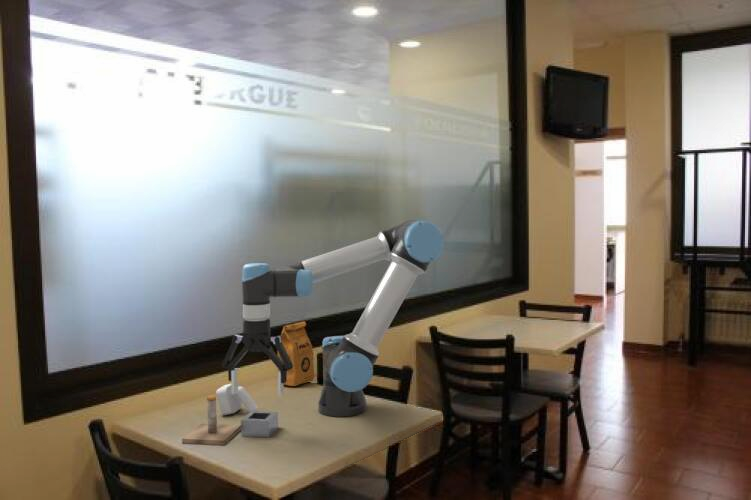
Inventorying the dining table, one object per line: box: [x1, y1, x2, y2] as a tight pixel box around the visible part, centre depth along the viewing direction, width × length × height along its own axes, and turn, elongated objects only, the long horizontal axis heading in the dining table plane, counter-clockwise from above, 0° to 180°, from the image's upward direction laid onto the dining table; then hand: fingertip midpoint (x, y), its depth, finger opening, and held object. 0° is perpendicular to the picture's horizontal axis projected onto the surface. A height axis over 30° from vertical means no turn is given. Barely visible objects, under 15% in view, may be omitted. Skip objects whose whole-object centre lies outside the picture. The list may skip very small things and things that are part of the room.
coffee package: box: [277, 321, 315, 387], centre depth 224 cm, size 10×12×22 cm
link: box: [240, 410, 279, 438], centre depth 175 cm, size 8×8×4 cm
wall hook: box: [215, 383, 259, 416], centre depth 192 cm, size 8×10×10 cm
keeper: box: [181, 394, 241, 446], centre depth 172 cm, size 12×12×11 cm
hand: (257, 393), depth 175 cm, fingers open, 13 cm apart
